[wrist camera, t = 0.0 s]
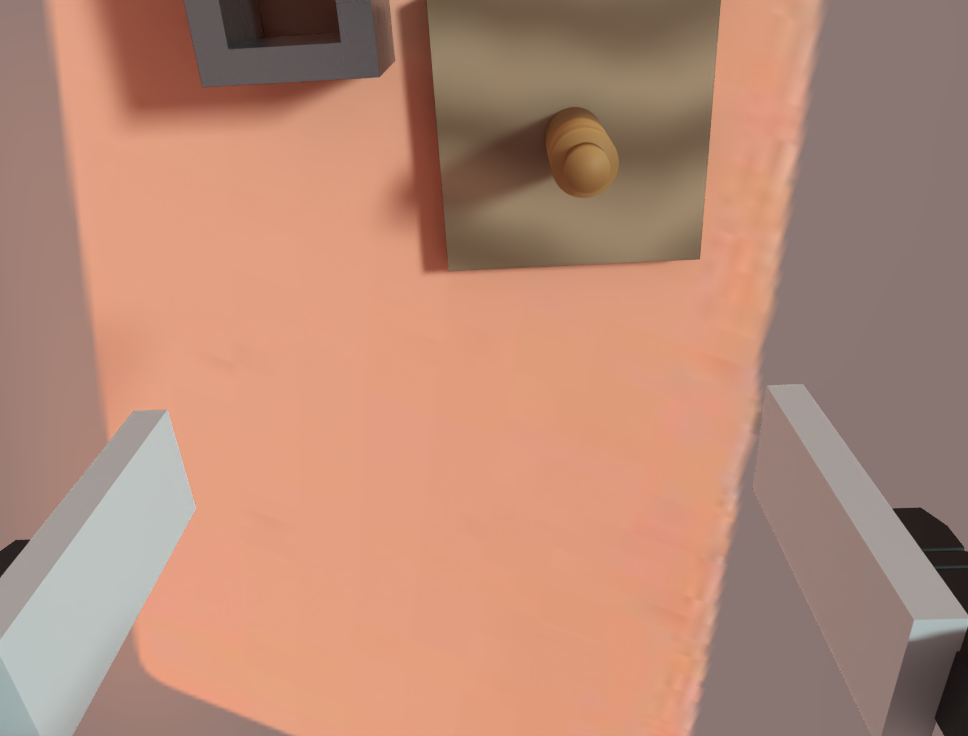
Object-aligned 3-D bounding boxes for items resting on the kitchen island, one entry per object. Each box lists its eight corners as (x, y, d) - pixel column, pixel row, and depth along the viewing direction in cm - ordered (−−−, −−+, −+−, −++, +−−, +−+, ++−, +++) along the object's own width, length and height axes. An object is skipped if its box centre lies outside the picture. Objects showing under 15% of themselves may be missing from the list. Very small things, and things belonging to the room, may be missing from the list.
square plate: (428, -7, 38) (411, 3, 31) (714, -24, 38) (768, -19, 30) (450, 261, 45) (440, 323, 37) (693, 250, 44) (733, 310, 37)
